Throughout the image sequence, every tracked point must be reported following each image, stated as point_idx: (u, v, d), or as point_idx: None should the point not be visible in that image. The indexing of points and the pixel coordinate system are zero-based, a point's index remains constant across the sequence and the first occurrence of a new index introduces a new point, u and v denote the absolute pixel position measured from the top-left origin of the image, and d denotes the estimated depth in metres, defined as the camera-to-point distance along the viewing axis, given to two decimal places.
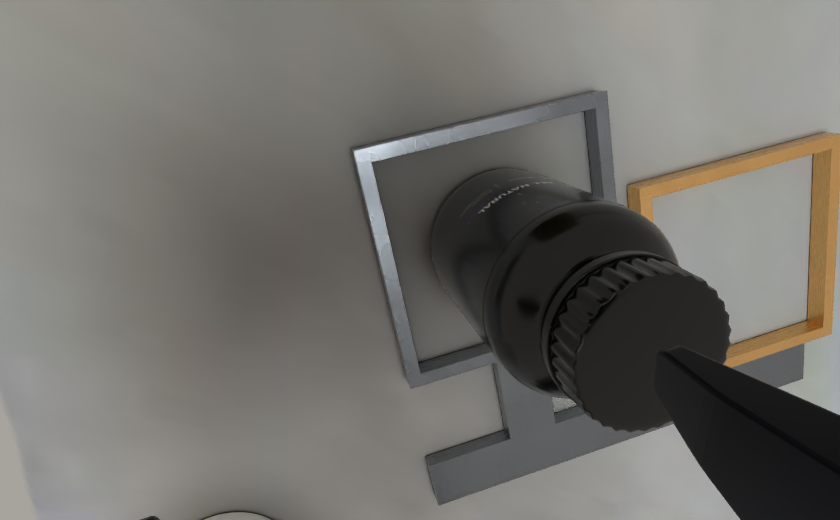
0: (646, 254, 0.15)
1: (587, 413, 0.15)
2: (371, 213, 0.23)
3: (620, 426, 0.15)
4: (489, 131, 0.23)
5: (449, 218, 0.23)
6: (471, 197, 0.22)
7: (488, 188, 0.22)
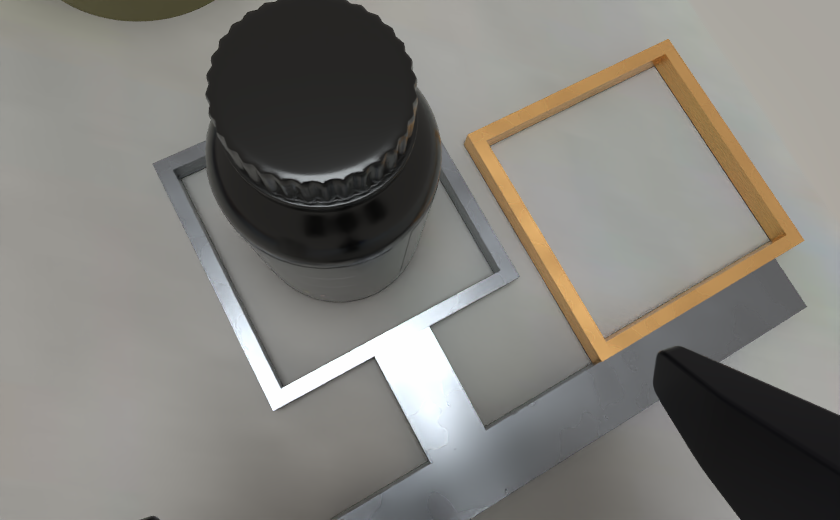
0: None
1: (257, 172, 0.12)
2: (182, 217, 0.23)
3: (303, 176, 0.12)
4: None
5: None
6: None
7: None
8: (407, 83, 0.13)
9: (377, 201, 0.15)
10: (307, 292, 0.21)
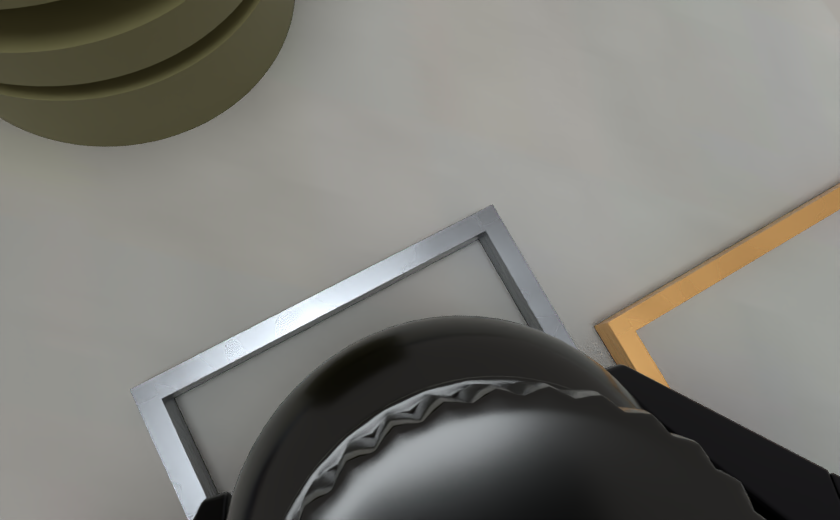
0: (462, 380, 0.06)
1: None
2: (176, 480, 0.14)
3: None
4: (335, 304, 0.16)
5: None
6: None
7: None
8: None
9: None
10: None
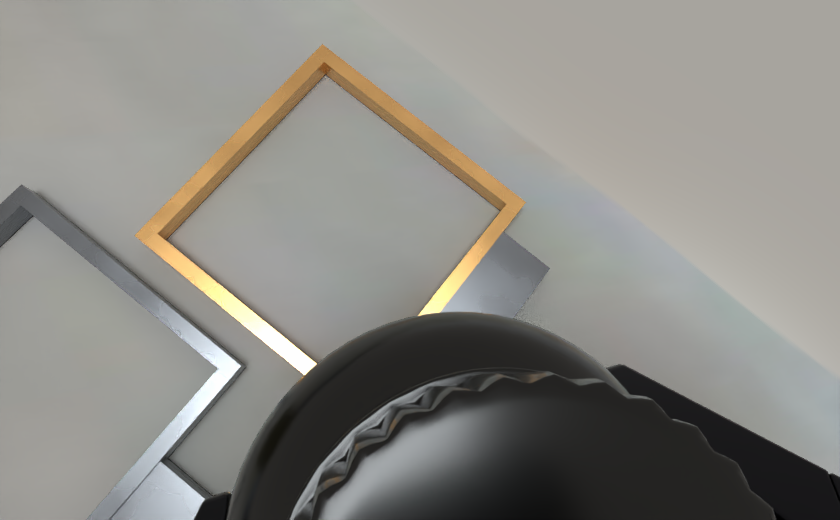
0: (465, 372, 0.06)
1: None
2: None
3: None
4: None
5: None
6: None
7: None
8: None
9: None
10: None
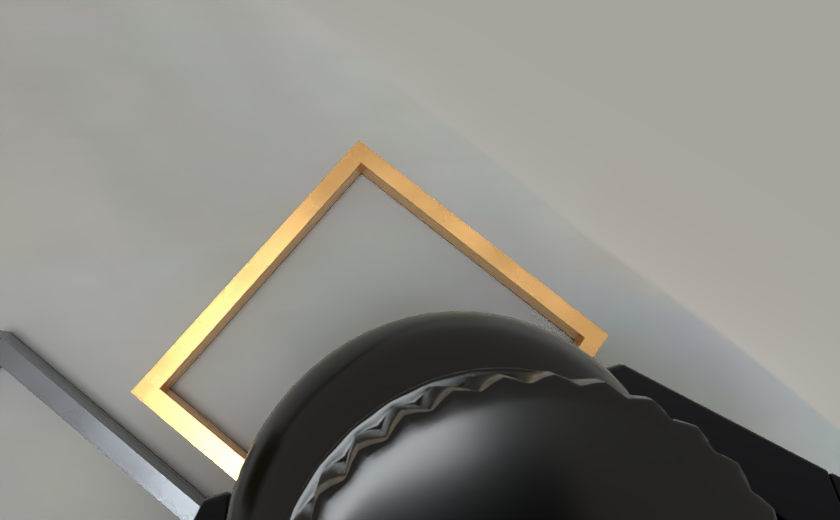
0: (465, 372, 0.06)
1: None
2: None
3: None
4: None
5: None
6: None
7: None
8: None
9: None
10: None
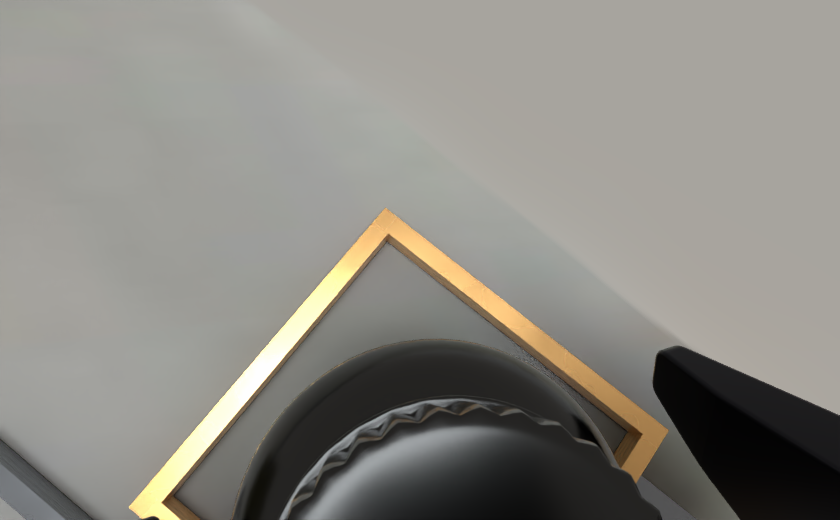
0: (420, 400, 0.07)
1: None
2: None
3: None
4: None
5: None
6: None
7: None
8: None
9: None
10: None
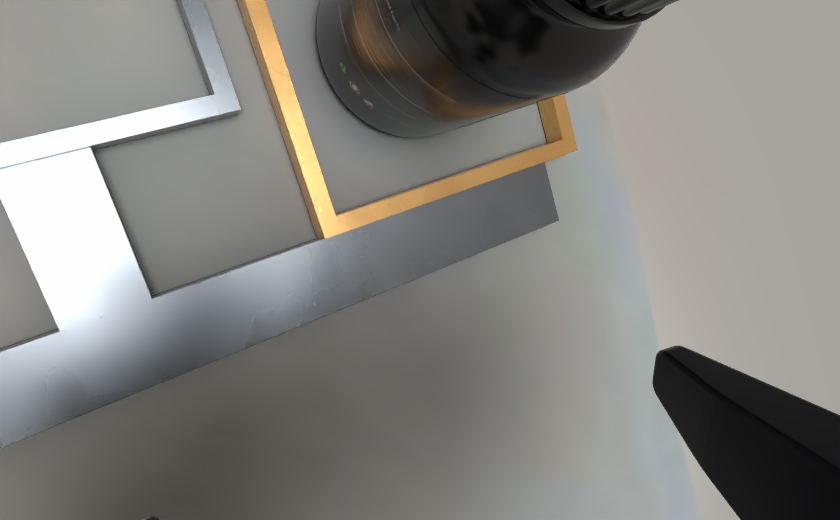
0: None
1: None
2: None
3: None
4: None
5: None
6: None
7: None
8: None
9: (578, 37, 0.12)
10: (352, 89, 0.18)
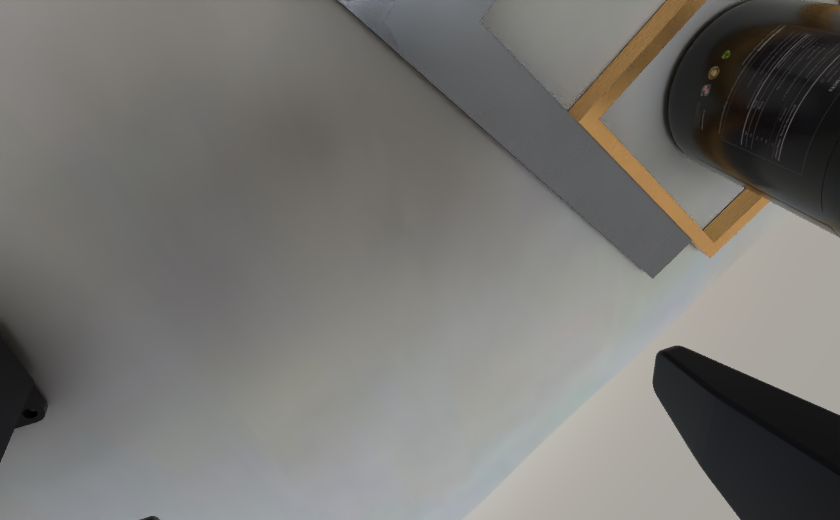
0: None
1: None
2: None
3: None
4: None
5: None
6: None
7: None
8: None
9: None
10: (710, 71, 0.20)
